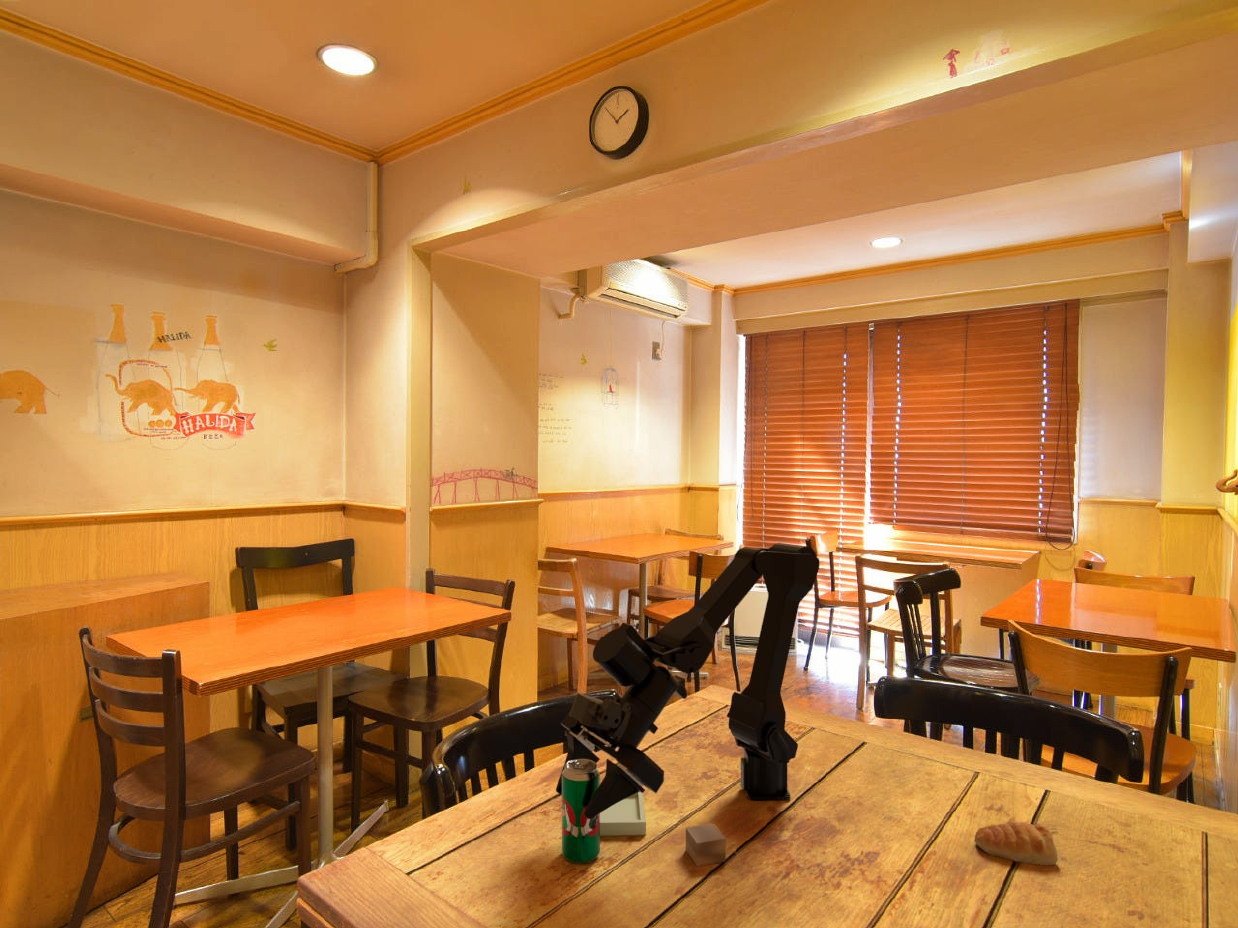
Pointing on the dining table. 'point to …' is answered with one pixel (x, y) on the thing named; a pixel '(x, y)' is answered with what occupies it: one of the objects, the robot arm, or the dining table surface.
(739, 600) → the robot arm
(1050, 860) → the pastry
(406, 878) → the dining table surface
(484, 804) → the dining table surface
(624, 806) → the tray
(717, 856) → the small brown cube
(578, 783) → the soda can
